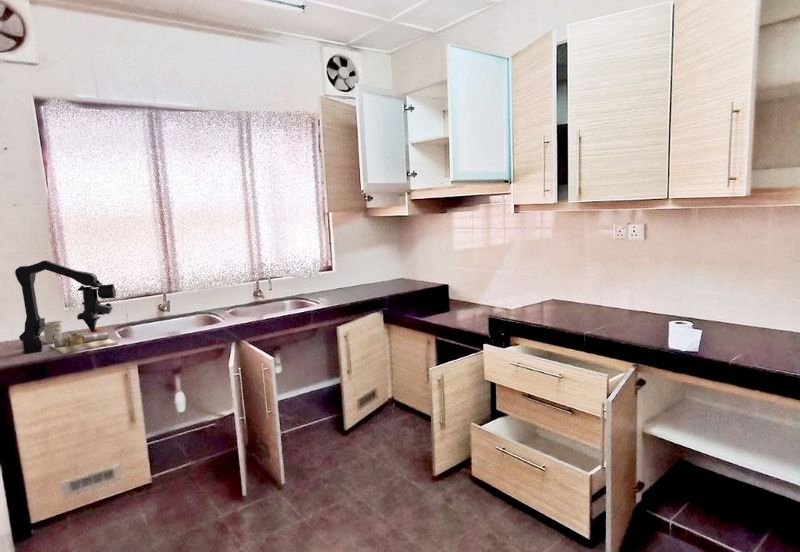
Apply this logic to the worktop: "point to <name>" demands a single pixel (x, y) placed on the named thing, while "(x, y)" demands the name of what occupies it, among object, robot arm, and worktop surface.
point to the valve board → (84, 346)
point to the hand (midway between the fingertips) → (92, 332)
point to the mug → (53, 331)
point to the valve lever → (86, 331)
